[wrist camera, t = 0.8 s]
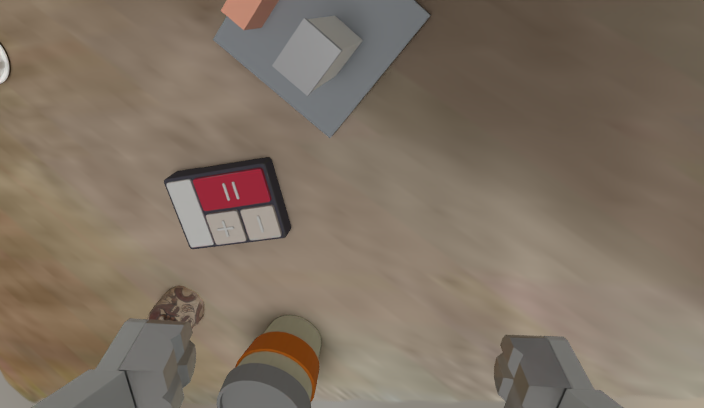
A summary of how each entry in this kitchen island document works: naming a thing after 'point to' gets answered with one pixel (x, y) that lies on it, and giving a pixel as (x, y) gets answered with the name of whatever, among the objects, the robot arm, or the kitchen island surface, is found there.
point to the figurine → (179, 306)
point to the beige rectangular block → (316, 52)
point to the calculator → (229, 203)
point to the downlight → (3, 65)
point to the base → (354, 77)
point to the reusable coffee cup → (276, 368)
